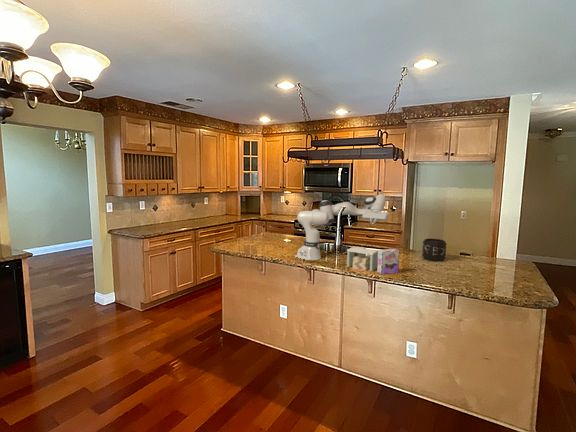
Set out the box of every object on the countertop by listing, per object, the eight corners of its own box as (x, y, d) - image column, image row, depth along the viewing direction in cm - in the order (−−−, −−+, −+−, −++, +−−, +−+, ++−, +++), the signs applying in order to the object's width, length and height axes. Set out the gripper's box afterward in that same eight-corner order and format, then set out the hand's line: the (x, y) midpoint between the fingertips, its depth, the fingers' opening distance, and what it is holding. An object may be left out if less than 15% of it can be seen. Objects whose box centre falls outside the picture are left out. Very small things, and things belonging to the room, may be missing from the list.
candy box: (381, 274, 235) (382, 251, 233) (376, 272, 241) (377, 249, 239) (398, 273, 239) (399, 250, 237) (394, 270, 244) (395, 248, 242)
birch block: (352, 268, 251) (352, 257, 250) (358, 265, 259) (358, 254, 258) (365, 270, 245) (365, 259, 244) (370, 267, 253) (370, 256, 252)
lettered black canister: (420, 260, 273) (421, 241, 271) (422, 255, 289) (424, 237, 287) (444, 263, 265) (446, 243, 263) (446, 258, 281) (447, 239, 279)
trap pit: (350, 269, 248) (350, 268, 248) (351, 268, 250) (351, 267, 250) (363, 271, 242) (363, 271, 242) (364, 270, 244) (364, 270, 244)
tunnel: (346, 266, 254) (347, 249, 252) (352, 263, 262) (353, 247, 260) (372, 271, 242) (372, 253, 241) (377, 268, 250) (378, 250, 249)
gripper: (390, 214, 275) (385, 227, 268) (366, 212, 286) (361, 225, 280) (388, 209, 270) (383, 222, 264) (364, 207, 282) (359, 220, 276)
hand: (372, 223), depth 272 cm, fingers closed
